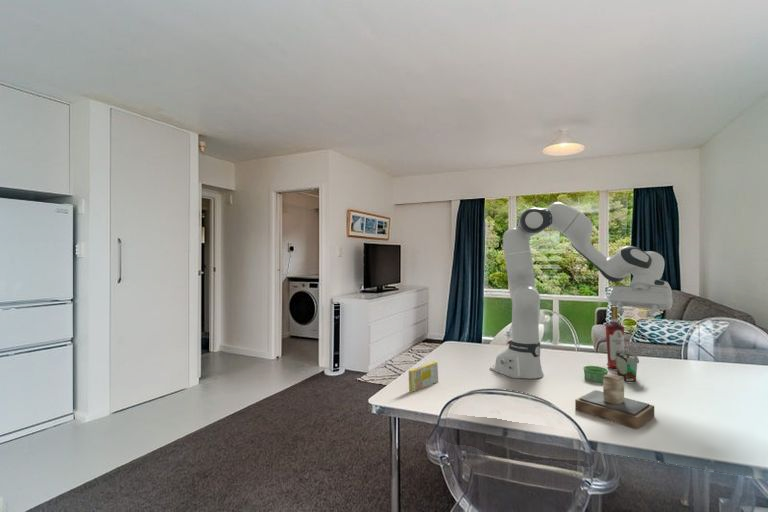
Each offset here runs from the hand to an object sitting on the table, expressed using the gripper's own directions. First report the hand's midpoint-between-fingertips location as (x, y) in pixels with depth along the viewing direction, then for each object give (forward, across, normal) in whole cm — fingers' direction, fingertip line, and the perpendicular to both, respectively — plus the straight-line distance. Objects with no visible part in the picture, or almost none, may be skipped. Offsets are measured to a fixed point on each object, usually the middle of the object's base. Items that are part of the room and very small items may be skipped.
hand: (634, 314), depth 140 cm
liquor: (+2, -17, +40) cm, 43 cm away
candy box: (+61, -54, -19) cm, 84 cm away
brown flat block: (+39, +3, +2) cm, 39 cm away
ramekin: (+17, -16, +24) cm, 34 cm away
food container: (+10, -7, +31) cm, 34 cm away
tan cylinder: (+36, +3, -1) cm, 36 cm away
